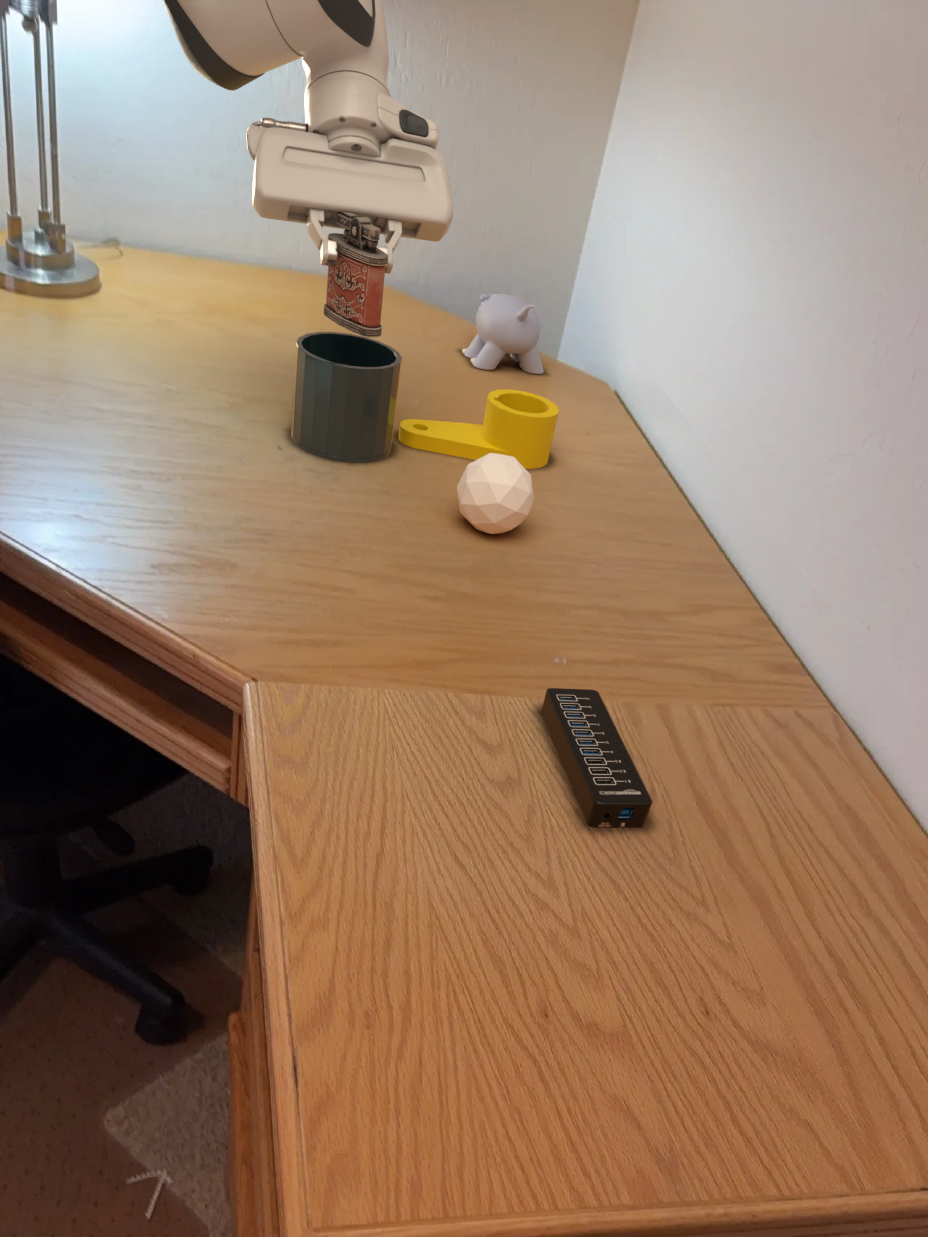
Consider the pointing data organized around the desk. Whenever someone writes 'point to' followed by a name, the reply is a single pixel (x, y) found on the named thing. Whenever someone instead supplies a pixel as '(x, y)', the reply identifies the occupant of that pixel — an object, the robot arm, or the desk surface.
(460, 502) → the geometric ball
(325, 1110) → the desk surface
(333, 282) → the lighter
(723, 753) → the desk surface
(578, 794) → the multiport hub
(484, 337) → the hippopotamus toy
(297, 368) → the pen cup
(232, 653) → the desk surface
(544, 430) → the crank
